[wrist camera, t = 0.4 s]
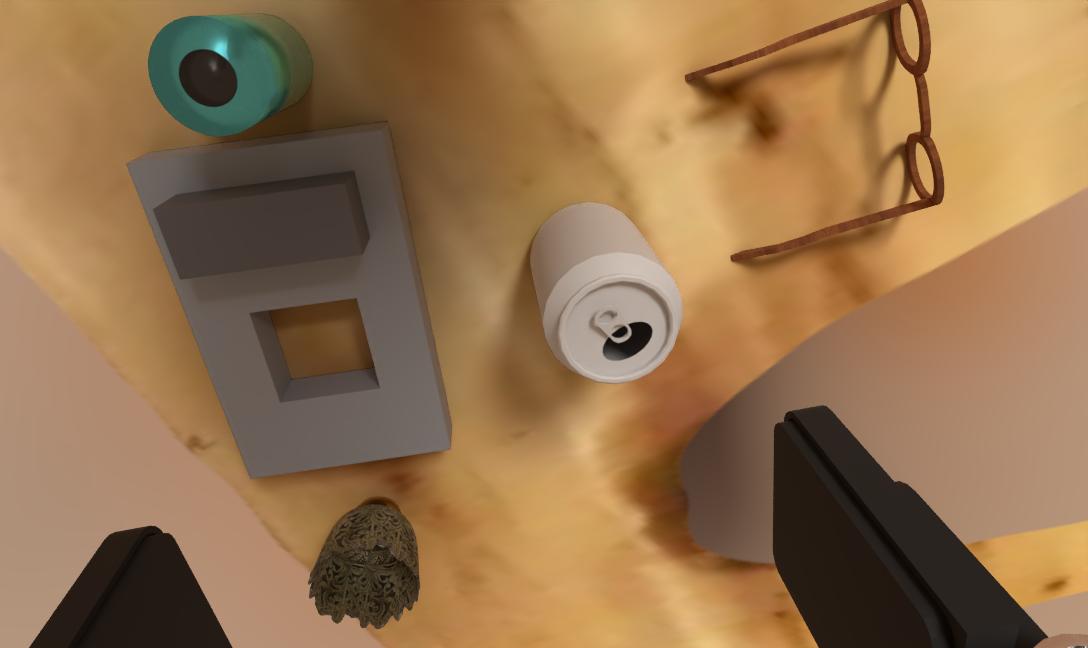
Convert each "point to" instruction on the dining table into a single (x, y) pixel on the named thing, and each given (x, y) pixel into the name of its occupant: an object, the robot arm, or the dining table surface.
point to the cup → (368, 565)
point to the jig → (300, 291)
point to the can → (603, 294)
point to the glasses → (921, 137)
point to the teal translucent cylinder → (228, 70)
